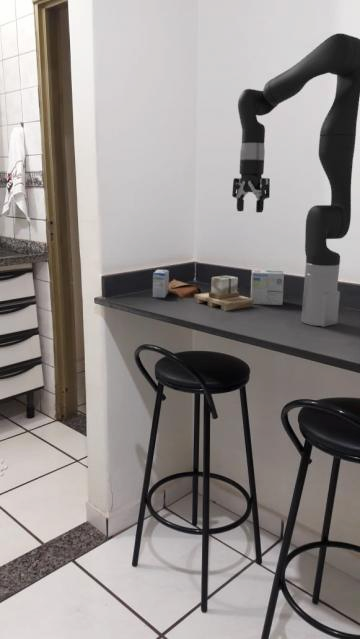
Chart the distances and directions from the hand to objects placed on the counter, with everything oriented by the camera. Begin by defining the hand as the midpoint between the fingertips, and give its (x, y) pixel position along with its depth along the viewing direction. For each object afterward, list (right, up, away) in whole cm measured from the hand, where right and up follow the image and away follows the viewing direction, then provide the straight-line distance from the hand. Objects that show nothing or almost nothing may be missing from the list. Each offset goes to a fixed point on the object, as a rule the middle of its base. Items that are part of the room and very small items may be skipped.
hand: (249, 211), depth 165 cm
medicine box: (-29, -26, +18) cm, 43 cm away
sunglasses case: (-23, -25, +23) cm, 41 cm away
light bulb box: (+7, -29, +9) cm, 31 cm away
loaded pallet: (-8, -27, +5) cm, 29 cm away
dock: (-8, -29, +6) cm, 31 cm away
